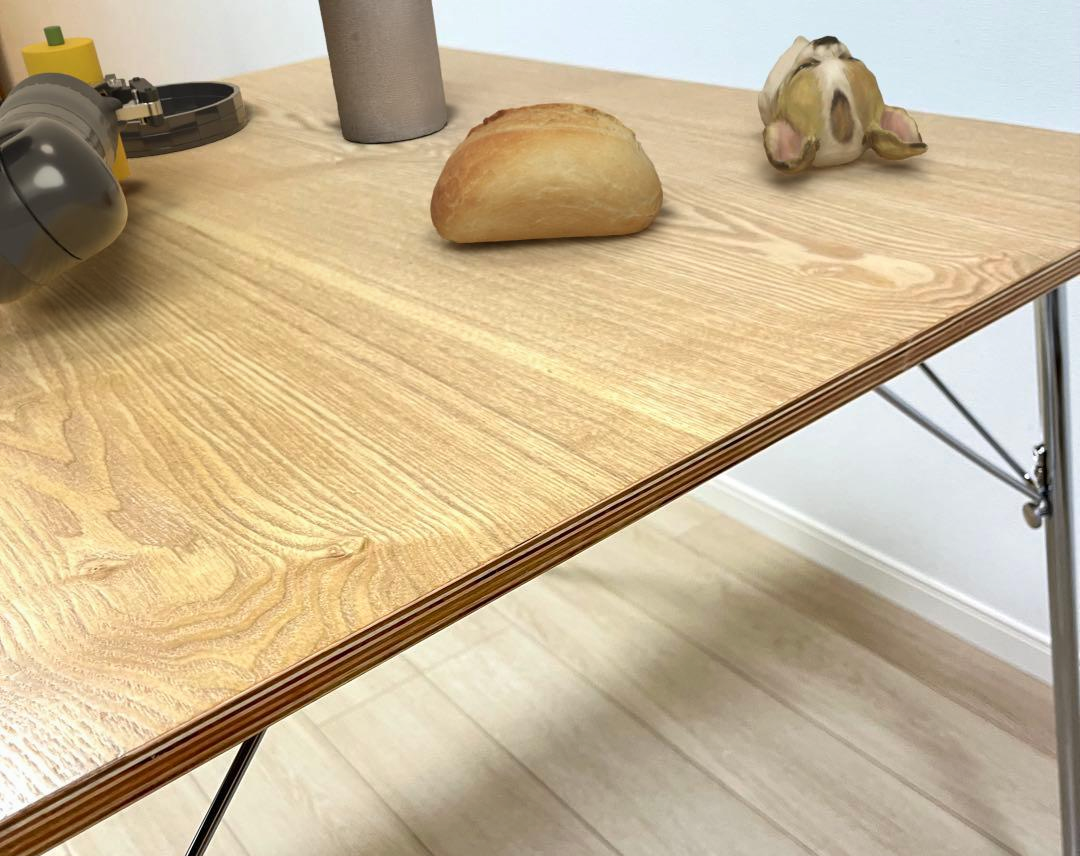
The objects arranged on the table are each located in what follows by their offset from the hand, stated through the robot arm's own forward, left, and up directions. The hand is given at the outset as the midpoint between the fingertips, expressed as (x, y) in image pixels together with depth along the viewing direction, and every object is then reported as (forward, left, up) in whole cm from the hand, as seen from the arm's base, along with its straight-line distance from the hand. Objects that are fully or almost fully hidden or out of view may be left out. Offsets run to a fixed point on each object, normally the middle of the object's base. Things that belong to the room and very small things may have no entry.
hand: (75, 93), depth 89 cm
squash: (0, -3, -6) cm, 7 cm away
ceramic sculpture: (+52, -24, -8) cm, 58 cm away
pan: (+4, +19, -8) cm, 21 cm away
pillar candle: (+25, +6, -8) cm, 27 cm away
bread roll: (+30, -29, -8) cm, 42 cm away
